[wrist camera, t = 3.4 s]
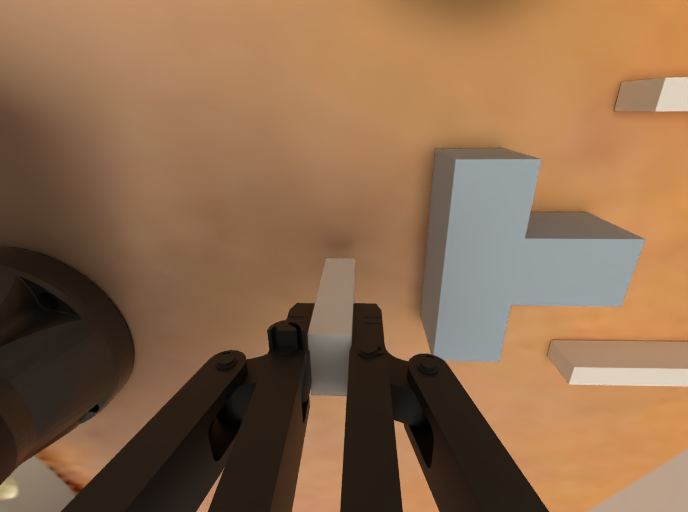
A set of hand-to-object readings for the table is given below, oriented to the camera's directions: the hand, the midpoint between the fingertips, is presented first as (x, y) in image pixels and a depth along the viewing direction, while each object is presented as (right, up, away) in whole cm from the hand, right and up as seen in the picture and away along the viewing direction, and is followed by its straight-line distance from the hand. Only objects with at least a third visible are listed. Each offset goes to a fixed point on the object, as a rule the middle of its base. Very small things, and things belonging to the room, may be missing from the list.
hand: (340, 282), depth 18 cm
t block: (+11, +2, +5) cm, 12 cm away
